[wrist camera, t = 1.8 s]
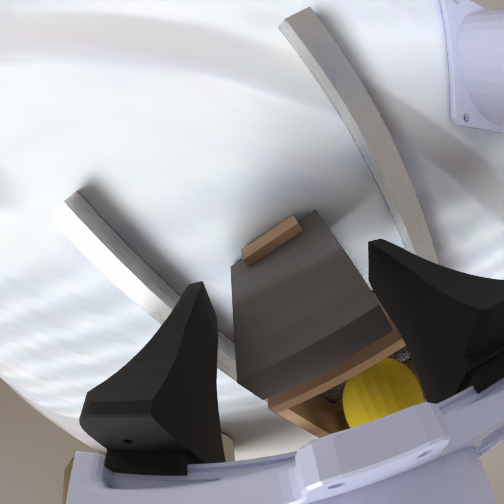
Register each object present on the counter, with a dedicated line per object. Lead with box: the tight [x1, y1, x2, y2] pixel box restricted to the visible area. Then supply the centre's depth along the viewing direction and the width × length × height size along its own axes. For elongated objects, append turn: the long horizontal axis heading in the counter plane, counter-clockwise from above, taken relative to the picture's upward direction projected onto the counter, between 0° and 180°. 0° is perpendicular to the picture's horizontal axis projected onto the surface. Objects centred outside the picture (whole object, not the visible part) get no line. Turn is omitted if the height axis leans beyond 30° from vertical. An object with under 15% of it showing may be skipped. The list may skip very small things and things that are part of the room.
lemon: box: [343, 358, 424, 428], centre depth 17 cm, size 6×6×8 cm
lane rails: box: [51, 7, 439, 402], centre depth 16 cm, size 26×14×2 cm, turn 36°
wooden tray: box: [231, 210, 427, 438], centre depth 15 cm, size 18×11×7 cm, turn 36°
